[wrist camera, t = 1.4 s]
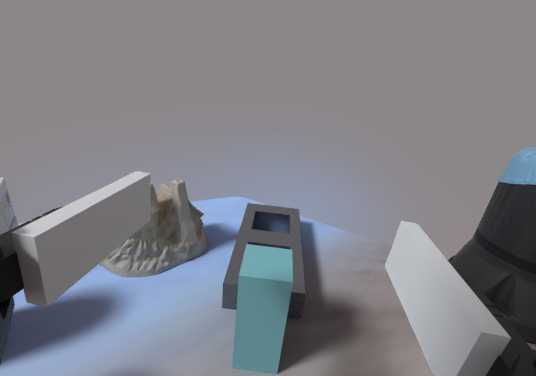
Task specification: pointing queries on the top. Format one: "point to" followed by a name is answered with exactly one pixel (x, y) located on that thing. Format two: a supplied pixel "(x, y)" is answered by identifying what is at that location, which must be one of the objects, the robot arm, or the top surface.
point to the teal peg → (262, 307)
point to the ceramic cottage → (161, 236)
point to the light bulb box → (6, 210)
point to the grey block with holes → (286, 239)
